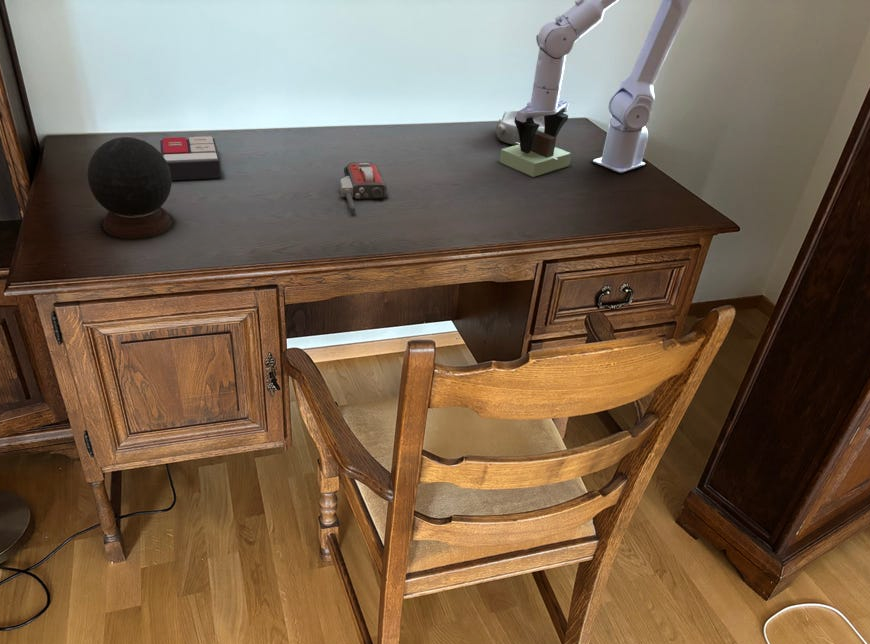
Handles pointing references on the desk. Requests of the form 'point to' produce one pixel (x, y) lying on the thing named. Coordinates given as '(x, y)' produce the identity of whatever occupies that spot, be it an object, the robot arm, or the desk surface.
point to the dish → (513, 127)
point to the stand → (534, 160)
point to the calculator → (191, 157)
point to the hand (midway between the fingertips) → (536, 148)
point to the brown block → (543, 144)
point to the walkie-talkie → (362, 182)
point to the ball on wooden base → (131, 187)
